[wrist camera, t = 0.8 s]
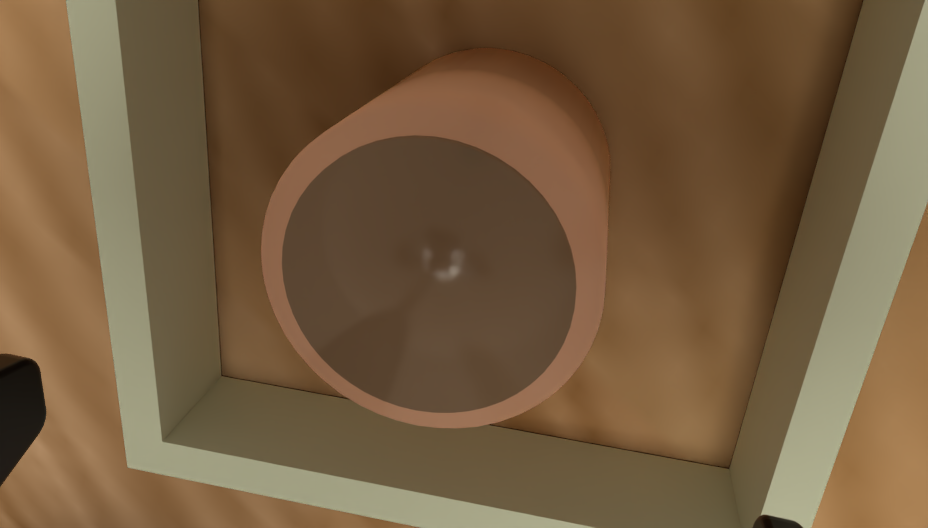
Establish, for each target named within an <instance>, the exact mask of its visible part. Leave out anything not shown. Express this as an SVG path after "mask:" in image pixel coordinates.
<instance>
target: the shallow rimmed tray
mask: <svg viewBox="0 0 928 528" xmlns="http://www.w3.org/2000/svg"><path fill="white" fill-rule="evenodd" d="M66 5H67V12H68V20H69V27H70V35H71V43H72V50H73V58H74V65H75V73H76V80H77V88H78V96H79V103H80V111H81V118H82V126H83V133H84V141H85V149H86V156H87V164H88V171H89V179H90V186H91V194H92V202H93V209H94V217H95V224H96V232H97V240H98V247H99V255H100V262H101V270H102V277H103V285H104V293H105V300H106V308H107V315H108V323H109V330H110V338H111V346H112V353H113V361H114V368H115V376H116V383H117V391H118V399H119V406H120V414H121V421H122V429H123V436H124V444H125V452H126V459H127V467H128V468H132V469H137V470H142V471H147V472H152V473H157V474H162V475H166V476H171V477H176V478H181V479H186V480H191V481H196V482H201V483H205V484H210V485H215V486H220V487H225V488H230V489H235V490H240V491H244V492H249V493H254V494H259V495H264V496H269V497H274V498H279V499H284V500H288V501H293V502H298V503H303V504H308V505H313V506H318V507H323V508H327V509H332V510H337V511H342V512H347V513H352V514H357V515H362V516H367V517H371V518H376V519H381V520H386V521H391V522H396V523H401V524H406V525H410V526H415V527H420V528H752V527H753V524H754V522H755V521H756V519H757V518H758V517H759V516H761V515H770V516H775V517H780V518H784V519H789V520H793V521H796V522H797V523H799V524H800V525H801V526H802V527H803V528H811V526H812V524H813V521H814V518H815V515H816V512H817V510H818V507H819V504H820V501H821V498H822V496H823V493H824V490H825V487H826V485H827V482H828V479H829V476H830V473H831V471H832V468H833V465H834V462H835V459H836V457H837V454H838V451H839V448H840V445H841V443H842V440H843V437H844V434H845V431H846V429H847V426H848V423H849V420H850V417H851V415H852V412H853V409H854V406H855V403H856V401H857V398H858V395H859V392H860V390H861V387H862V384H863V381H864V378H865V376H866V373H867V370H868V367H869V364H870V362H871V359H872V356H873V353H874V350H875V348H876V345H877V342H878V339H879V336H880V334H881V331H882V328H883V325H884V322H885V320H886V317H887V314H888V311H889V308H890V306H891V303H892V300H893V297H894V294H895V292H896V289H897V286H898V283H899V281H900V278H901V275H902V272H903V269H904V267H905V264H906V261H907V258H908V255H909V253H910V250H911V247H912V244H913V241H914V239H915V236H916V233H917V230H918V227H919V225H920V222H921V219H922V216H923V213H924V211H925V208H926V205H927V202H928V0H863V4H862V7H861V11H860V14H859V18H858V21H857V25H856V28H855V32H854V35H853V39H852V42H851V46H850V49H849V53H848V56H847V60H846V63H845V67H844V70H843V74H842V77H841V81H840V84H839V88H838V91H837V95H836V98H835V102H834V105H833V109H832V112H831V116H830V119H829V123H828V126H827V130H826V133H825V137H824V140H823V144H822V147H821V151H820V154H819V158H818V161H817V164H816V168H815V171H814V175H813V178H812V182H811V185H810V189H809V192H808V196H807V199H806V203H805V206H804V210H803V213H802V217H801V220H800V224H799V227H798V231H797V234H796V238H795V241H794V245H793V248H792V252H791V255H790V259H789V262H788V266H787V269H786V273H785V276H784V280H783V283H782V287H781V290H780V294H779V297H778V301H777V304H776V308H775V311H774V315H773V318H772V322H771V325H770V329H769V332H768V336H767V339H766V343H765V346H764V350H763V353H762V357H761V360H760V364H759V367H758V371H757V374H756V377H755V381H754V384H753V388H752V391H751V395H750V398H749V402H748V405H747V409H746V412H745V416H744V419H743V423H742V426H741V430H740V433H739V437H738V440H737V444H736V447H735V451H734V454H733V458H732V461H731V465H730V468H729V469H726V468H721V467H715V466H710V465H704V464H699V463H693V462H688V461H683V460H677V459H672V458H666V457H661V456H655V455H650V454H644V453H639V452H633V451H628V450H622V449H617V448H612V447H606V446H601V445H595V444H590V443H584V442H579V441H573V440H568V439H562V438H557V437H551V436H546V435H541V434H535V433H530V432H524V431H519V430H513V429H508V428H502V427H497V426H491V425H483V426H479V427H469V428H433V427H425V426H417V425H413V424H409V423H405V422H401V421H397V420H394V419H391V418H388V417H385V416H383V415H380V414H377V413H375V412H373V411H371V410H369V409H367V408H365V407H363V406H360V405H358V404H357V403H355V402H353V401H352V400H349V399H344V398H338V397H333V396H327V395H322V394H317V393H311V392H306V391H300V390H295V389H289V388H284V387H278V386H273V385H267V384H262V383H256V382H251V381H246V380H240V379H235V378H229V377H224V376H221V360H220V344H219V328H218V312H217V296H216V280H215V264H214V248H213V232H212V216H211V200H210V184H209V169H208V153H207V137H206V121H205V105H204V89H203V73H202V57H201V41H200V25H199V9H198V0H66Z"/></svg>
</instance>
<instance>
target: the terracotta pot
mask: <svg viewBox="0 0 928 528" xmlns="http://www.w3.org/2000/svg"><path fill="white" fill-rule="evenodd" d="M610 175H611V171H610V155H609V149H608V143H607V139H606V136H605V133H604V130H603V127H602V125H601V123H600V121H599V118H598V116H597V114H596V112H595V110H594V109H593V107H592V106H591V104H590V103H589V101H588V100H587V98H586V97H585V96H584V95H583V94H582V92H581V91H580V90H579V89H578V88H577V87H576V86H575V84H573V83H572V82H571V81H570V80H569V79H568V78H566V77H565V76H564V75H563V74H562V73H560V72H559V71H557V70H556V69H554V68H553V67H551V66H550V65H548V64H546V63H544V62H542V61H540V60H538V59H536V58H534V57H531V56H528V55H525V54H522V53H519V52H516V51H510V50H505V49H496V48H477V49H467V50H463V51H458V52H454V53H450V54H448V55H445V56H443V57H440V58H437V59H435V60H433V61H432V62H430V63H428V64H426V65H424V66H423V67H421V68H420V69H418V70H417V71H415V72H414V73H412V74H411V75H409V76H408V77H406V78H405V79H403V80H402V81H400V82H399V83H397V84H396V85H394V86H392V87H391V88H389V89H388V90H386V91H385V92H383V93H382V94H380V95H379V96H377V97H376V98H374V99H373V100H371V101H370V102H368V103H367V104H365V105H364V106H362V107H361V108H359V109H358V110H356V111H355V112H353V113H352V114H350V115H349V116H347V117H346V118H344V119H343V120H341V121H340V122H338V123H337V124H335V125H334V126H332V127H331V128H329V129H328V130H326V131H325V132H324V133H322V134H321V135H320V136H318V137H317V138H316V139H314V140H313V141H312V142H310V143H309V144H308V145H307V146H306V147H305V148H304V149H303V150H302V151H301V152H300V153H299V154H298V155H297V156H296V157H295V158H294V159H293V161H292V162H291V163H290V165H289V166H288V168H287V169H286V170H285V172H284V173H283V175H282V176H281V178H280V180H279V182H278V184H277V186H276V188H275V190H274V192H273V194H272V196H271V199H270V202H269V205H268V208H267V211H266V214H265V219H264V224H263V230H262V239H261V261H262V271H263V278H264V282H265V286H266V291H267V295H268V298H269V301H270V303H271V306H272V309H273V311H274V314H275V316H276V318H277V320H278V322H279V324H280V326H281V328H282V330H283V332H284V334H285V335H286V337H287V338H288V340H289V341H290V343H291V344H292V346H293V347H294V349H295V350H296V351H297V353H298V354H299V355H300V356H301V357H302V359H303V360H304V361H305V362H306V363H307V365H308V366H309V367H310V368H311V369H312V370H313V371H314V372H315V373H316V374H318V375H319V376H320V377H321V378H322V379H323V380H324V381H325V382H326V383H328V384H329V385H330V386H331V387H333V388H334V389H335V390H337V391H338V392H339V393H341V394H342V395H344V396H345V397H347V398H349V399H350V400H352V401H353V402H355V403H357V404H358V405H360V406H363V407H365V408H367V409H369V410H371V411H373V412H375V413H377V414H380V415H383V416H385V417H388V418H391V419H394V420H397V421H401V422H405V423H409V424H413V425H417V426H425V427H433V428H469V427H479V426H483V425H488V424H492V423H497V422H500V421H503V420H506V419H509V418H512V417H515V416H517V415H519V414H521V413H523V412H525V411H527V410H529V409H531V408H533V407H535V406H537V405H538V404H540V403H541V402H543V401H544V400H546V399H547V398H549V397H550V396H551V395H553V394H554V393H555V392H556V391H557V390H558V389H559V388H560V387H561V386H563V385H564V384H565V383H566V382H567V381H568V380H569V378H570V377H571V376H572V375H573V374H574V372H575V371H576V370H577V369H578V368H579V366H580V365H581V363H582V361H583V360H584V358H585V357H586V355H587V353H588V352H589V350H590V348H591V346H592V343H593V341H594V339H595V336H596V334H597V332H598V329H599V325H600V321H601V317H602V313H603V308H604V299H605V289H606V267H607V244H608V221H609V198H610Z"/></svg>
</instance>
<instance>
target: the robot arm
mask: <svg viewBox="0 0 928 528" xmlns="http://www.w3.org/2000/svg"><path fill="white" fill-rule="evenodd" d="M45 419H46V406H45V399H44V392H43V386H42V379H41V372H40V368H39V366H38V364H37V363H36V362H35V361H34V360H32V359H30V358H26V357H21V356H16V355H12V354H0V486H1V485H2V484H3V482H4V481H5V479H6V478H7V477H8V475H9V474H10V473H11V471H12V470H13V469H14V467H15V466H16V464H17V463H18V462H19V460H20V459H21V458H22V456H23V455H24V453H25V452H26V451H27V449H28V448H29V447H30V445H31V444H32V443H33V441H34V440H35V438H36V437H37V436H38V434H39V433H40V431H41V429H42V427H43V425H44V422H45ZM752 528H803V527H802V526H801V525H800V524H799V523H797V522H796V521H793V520H789V519H784V518H780V517H775V516H770V515H761V516H759V517H758V518H757V519H756V521H755V522H754V524H753V527H752Z"/></svg>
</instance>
